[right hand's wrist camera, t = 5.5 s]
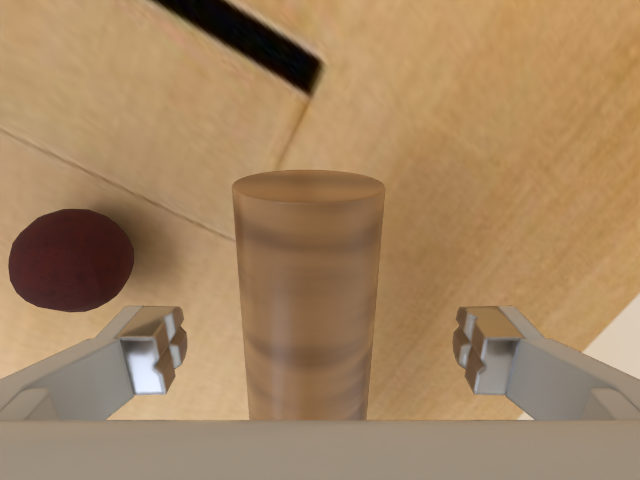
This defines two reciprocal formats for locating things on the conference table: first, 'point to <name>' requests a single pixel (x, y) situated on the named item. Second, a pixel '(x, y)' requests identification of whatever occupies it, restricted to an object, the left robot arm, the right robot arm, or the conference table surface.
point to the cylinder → (308, 290)
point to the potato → (70, 261)
